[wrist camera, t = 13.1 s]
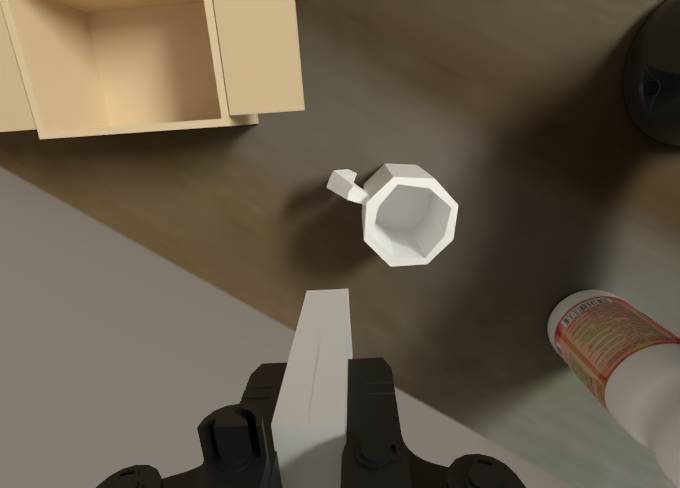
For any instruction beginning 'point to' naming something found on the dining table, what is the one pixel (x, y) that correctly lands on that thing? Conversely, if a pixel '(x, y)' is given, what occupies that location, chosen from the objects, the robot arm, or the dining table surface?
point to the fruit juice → (624, 368)
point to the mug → (401, 212)
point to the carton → (145, 64)
